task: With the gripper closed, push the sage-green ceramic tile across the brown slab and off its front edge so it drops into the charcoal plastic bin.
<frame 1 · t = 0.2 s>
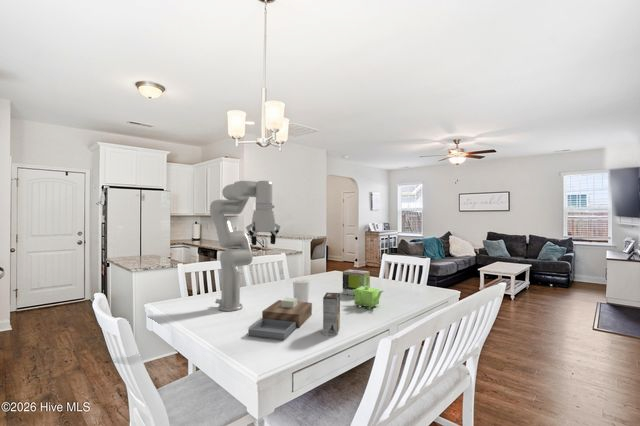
hand: (263, 244, 152), 37 cm above the table, tool pointing down, fingers open, 9 cm apart
candle holder: (301, 301, 192), on the table
brown slab: (288, 319, 160), on the table
tea box: (356, 294, 210), on the table
bin: (272, 332, 142), on the table
coffee box: (331, 332, 144), on the table
tile: (289, 305, 162), point 6 cm above the table, touching brown slab
kettle: (366, 306, 183), on the table
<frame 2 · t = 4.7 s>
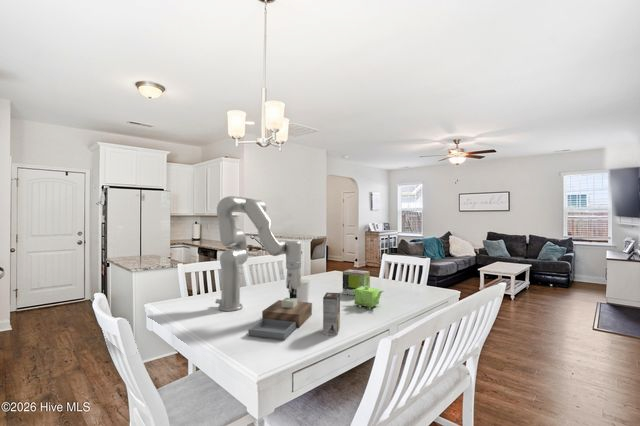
hand: (293, 301, 166), 7 cm above the table, tool pointing down, fingers closed
tile: (289, 305, 161), point 6 cm above the table, touching brown slab, gripper
everything else where it was.
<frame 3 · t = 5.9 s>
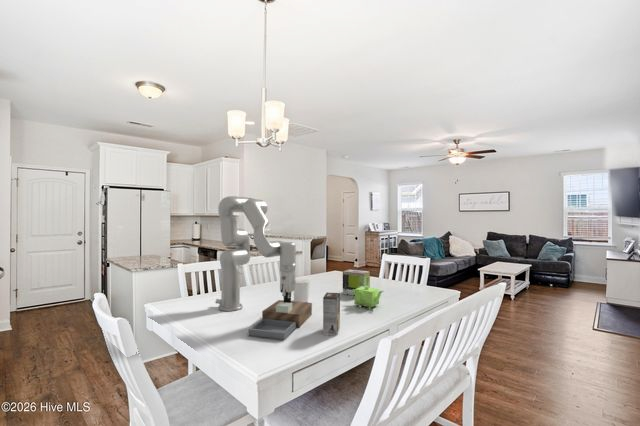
hand: (287, 306, 158), 7 cm above the table, tool pointing down, fingers closed
tile: (284, 310, 153), point 6 cm above the table, touching gripper
everything else where it was.
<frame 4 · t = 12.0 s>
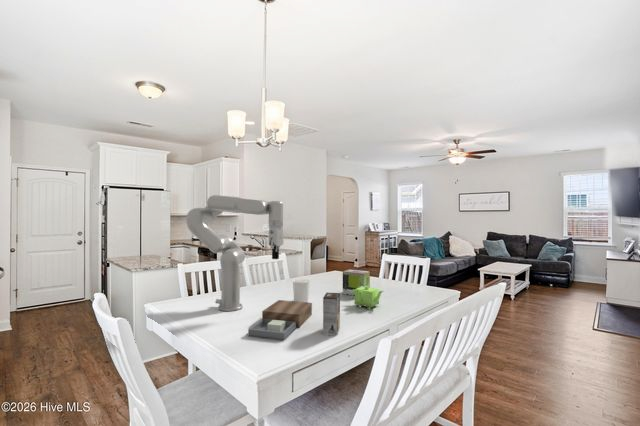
hand: (275, 258, 174), 27 cm above the table, tool pointing down, fingers closed
tile: (276, 322, 144), point 4 cm above the table, tilted 180°, touching bin
everything else where it was.
at the end: tile inside the target area on the bin (2.5 cm from its centre), point 3.6 cm above the bin's base; tile moved 18.3 cm from its start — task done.
